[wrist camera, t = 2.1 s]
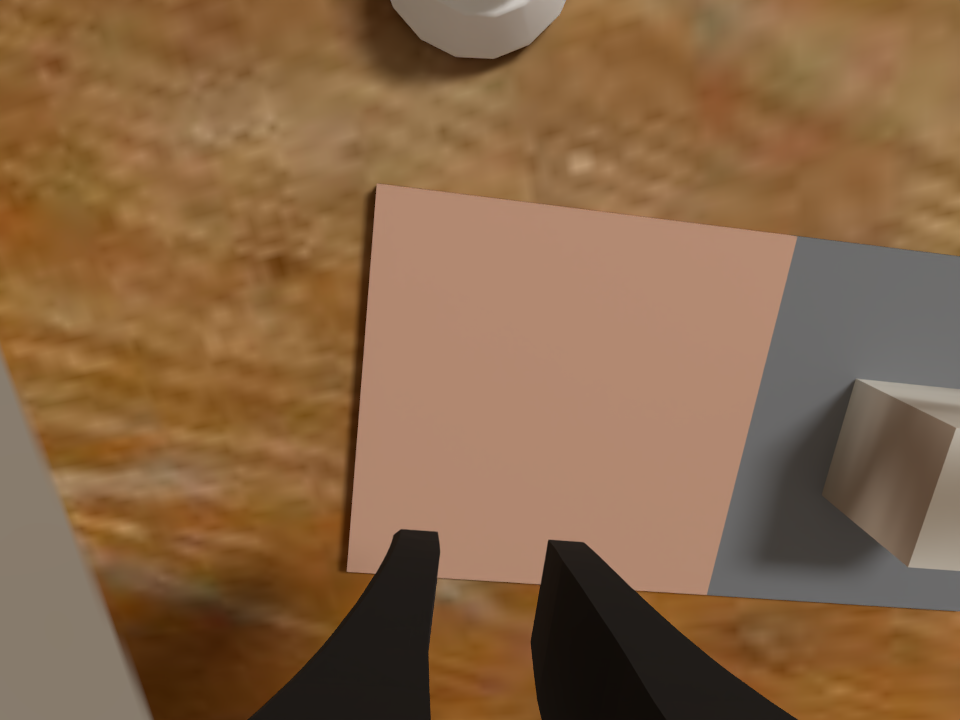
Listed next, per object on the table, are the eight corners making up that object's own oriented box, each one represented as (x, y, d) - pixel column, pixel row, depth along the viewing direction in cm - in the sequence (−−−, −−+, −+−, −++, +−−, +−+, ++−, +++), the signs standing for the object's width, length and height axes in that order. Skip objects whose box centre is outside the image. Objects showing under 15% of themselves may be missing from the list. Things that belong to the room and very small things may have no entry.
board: (966, 603, 23) (977, 612, 23) (348, 562, 21) (346, 571, 21) (1091, 272, 20) (1107, 275, 20) (378, 183, 18) (376, 183, 17)
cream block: (934, 504, 21) (1043, 577, 18) (821, 495, 21) (908, 567, 17) (974, 390, 20) (1099, 441, 17) (855, 378, 20) (956, 428, 16)
